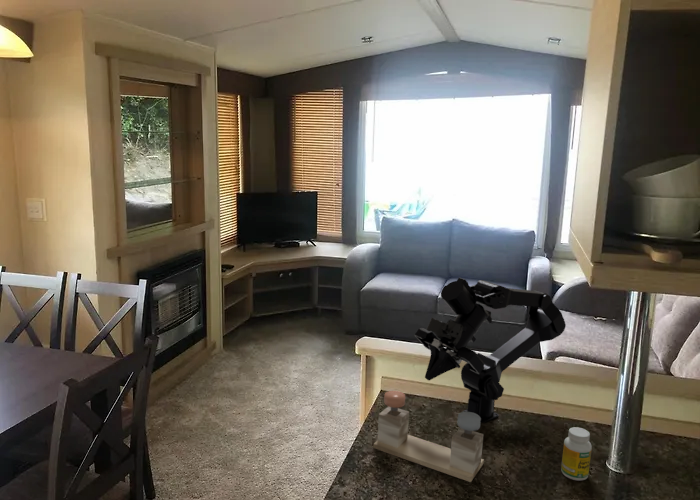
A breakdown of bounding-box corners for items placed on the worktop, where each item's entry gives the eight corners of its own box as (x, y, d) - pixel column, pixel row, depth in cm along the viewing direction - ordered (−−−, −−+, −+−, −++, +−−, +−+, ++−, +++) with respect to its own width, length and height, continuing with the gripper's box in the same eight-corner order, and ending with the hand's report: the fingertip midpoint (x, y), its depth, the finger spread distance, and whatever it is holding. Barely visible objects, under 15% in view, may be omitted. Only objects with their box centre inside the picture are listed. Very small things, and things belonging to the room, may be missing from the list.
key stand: (390, 432, 132) (391, 402, 131) (483, 463, 121) (486, 431, 119) (373, 447, 126) (374, 416, 124) (470, 482, 114) (473, 448, 113)
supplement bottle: (571, 464, 122) (576, 422, 120) (593, 476, 118) (599, 434, 116) (555, 471, 119) (560, 429, 117) (577, 484, 115) (583, 441, 113)
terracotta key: (389, 402, 129) (390, 388, 128) (408, 408, 127) (408, 394, 126) (380, 410, 125) (380, 396, 125) (398, 416, 123) (399, 401, 122)
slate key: (461, 424, 120) (462, 409, 120) (482, 430, 118) (483, 415, 117) (453, 433, 117) (454, 418, 116) (474, 440, 114) (476, 424, 114)
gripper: (422, 295, 137) (383, 346, 133) (479, 317, 122) (436, 375, 118) (444, 322, 143) (408, 371, 139) (501, 345, 128) (461, 402, 124)
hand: (426, 379), depth 130 cm, fingers closed
